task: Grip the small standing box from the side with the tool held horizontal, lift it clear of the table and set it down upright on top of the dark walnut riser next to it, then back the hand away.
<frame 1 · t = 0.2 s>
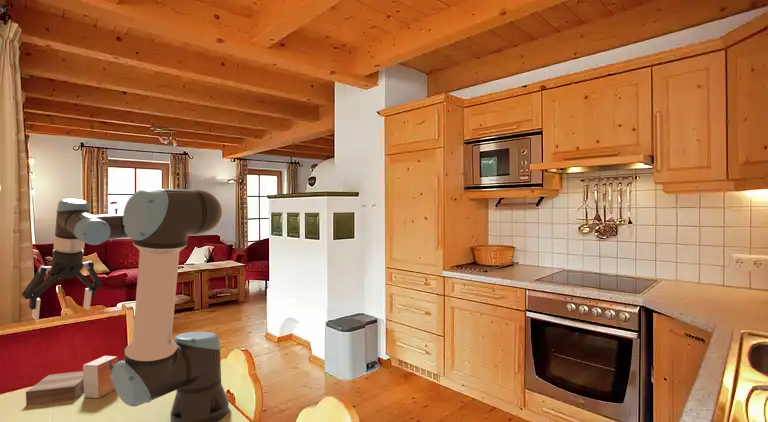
hand: (61, 313, 129), 27 cm above the table, tool tilted 15°, fingers open, 13 cm apart
walnut riser: (62, 392, 133), on the table
small box: (102, 393, 132), on the table
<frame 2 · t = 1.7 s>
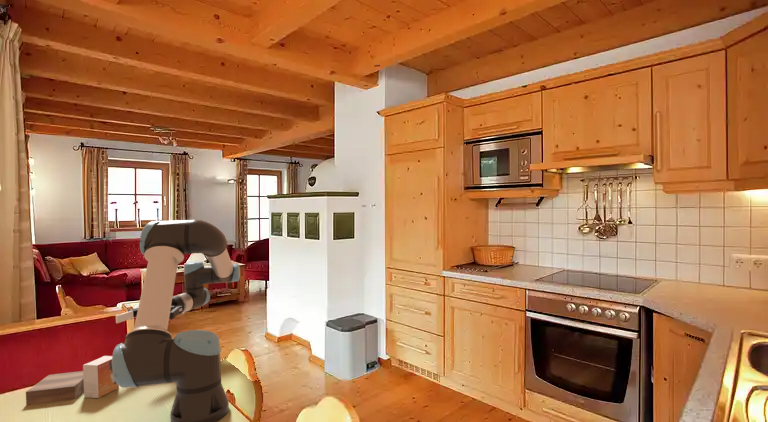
hand: (131, 320, 143), 20 cm above the table, tool horizontal, fingers open, 13 cm apart
nothing on the table moved.
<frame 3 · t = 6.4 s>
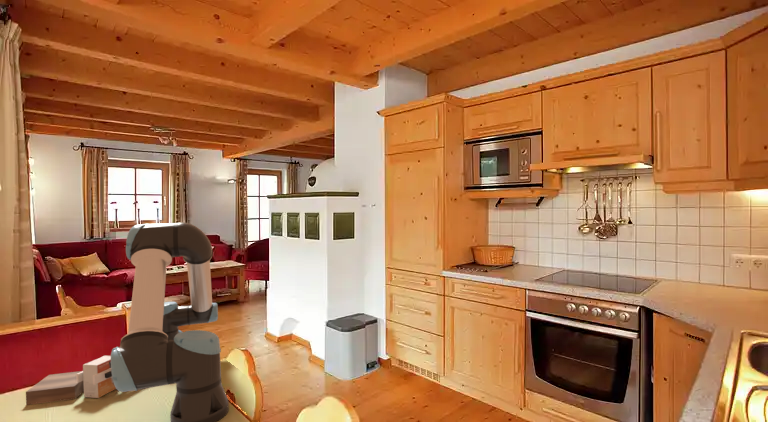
hand: (85, 379, 127), 7 cm above the table, tool horizontal, fingers closed on small box, 6 cm apart
small box: (102, 392, 132), on the table, touching gripper
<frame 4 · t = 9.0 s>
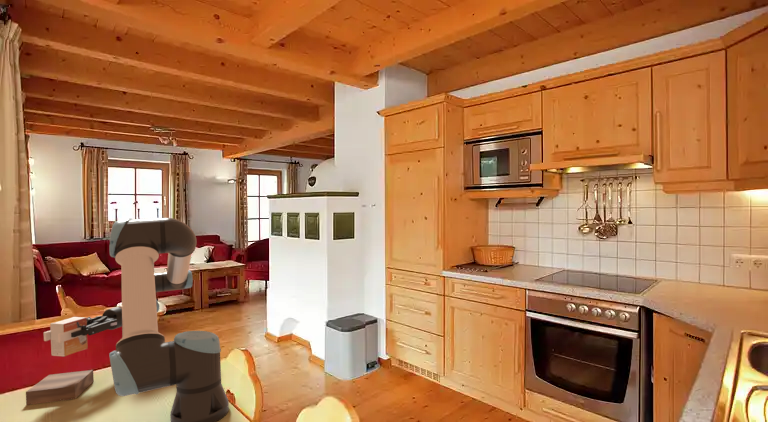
hand: (52, 337, 128), 19 cm above the table, tool horizontal, fingers closed on small box, 6 cm apart
small box: (70, 352, 134), point 13 cm above the table, touching gripper
when the fingers open (12 cm above the table, at t = 11.6 s): small box drops 1 cm, resting on walnut riser.
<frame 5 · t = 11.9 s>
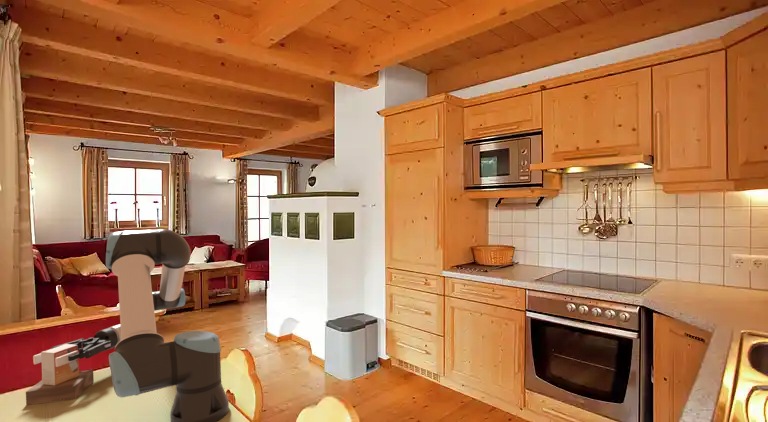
hand: (45, 361, 128), 12 cm above the table, tool horizontal, fingers open, 9 cm apart
small box: (61, 380, 133), point 4 cm above the table, touching walnut riser
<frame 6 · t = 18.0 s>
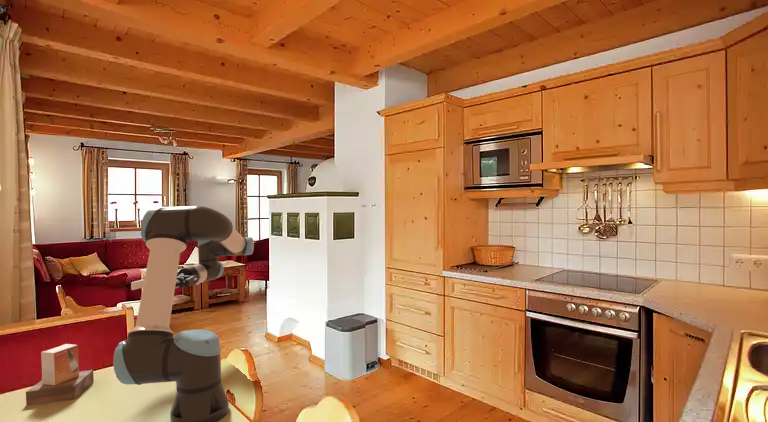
hand: (147, 286, 142), 32 cm above the table, tool horizontal, fingers open, 13 cm apart
nothing on the table moved.
at the end: small box inside the target area on the walnut riser (0.1 cm from its centre), point 3.8 cm above the walnut riser's base; small box tilted 0°; the gripper is holding nothing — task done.
